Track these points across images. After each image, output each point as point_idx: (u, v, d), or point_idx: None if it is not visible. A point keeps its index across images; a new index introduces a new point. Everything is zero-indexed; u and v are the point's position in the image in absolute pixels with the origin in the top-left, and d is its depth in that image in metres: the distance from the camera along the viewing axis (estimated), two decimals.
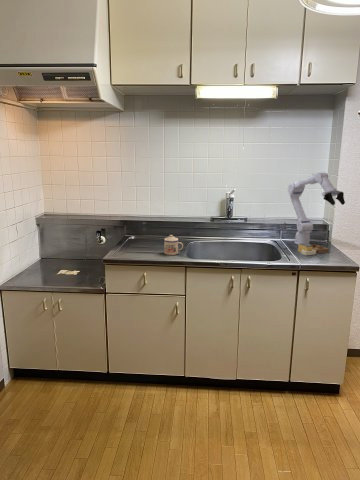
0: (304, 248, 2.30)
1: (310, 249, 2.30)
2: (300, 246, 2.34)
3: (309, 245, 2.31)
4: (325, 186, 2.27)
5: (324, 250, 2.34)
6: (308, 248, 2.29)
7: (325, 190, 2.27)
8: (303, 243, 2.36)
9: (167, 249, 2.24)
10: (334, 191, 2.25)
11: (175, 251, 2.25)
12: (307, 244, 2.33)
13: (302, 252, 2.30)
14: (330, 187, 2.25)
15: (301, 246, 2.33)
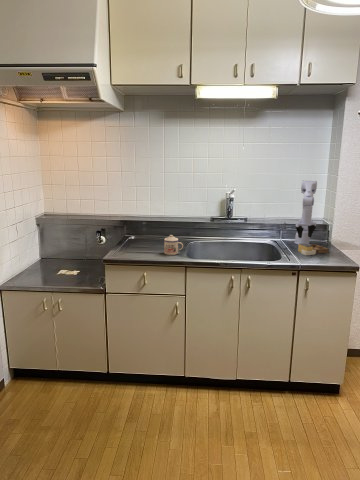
0: (304, 248, 2.30)
1: (310, 249, 2.30)
2: (300, 246, 2.34)
3: (309, 245, 2.31)
4: (304, 216, 2.28)
5: (324, 250, 2.34)
6: (308, 248, 2.29)
7: (302, 219, 2.30)
8: (303, 243, 2.36)
9: (167, 249, 2.24)
10: None
11: (175, 251, 2.25)
12: (307, 244, 2.33)
13: (302, 252, 2.30)
14: (307, 220, 2.28)
15: (301, 246, 2.33)
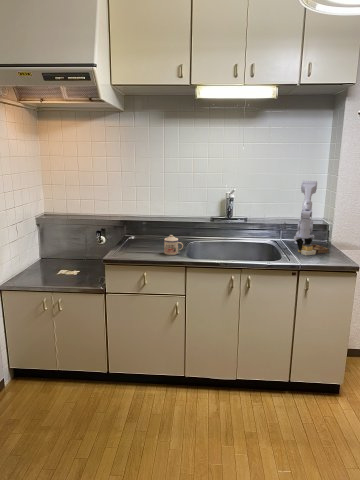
0: (304, 248, 2.30)
1: (310, 249, 2.30)
2: None
3: (309, 245, 2.31)
4: (302, 229, 2.30)
5: (324, 250, 2.34)
6: (308, 248, 2.29)
7: (300, 232, 2.32)
8: (303, 243, 2.36)
9: (167, 249, 2.24)
10: None
11: (175, 251, 2.25)
12: (307, 244, 2.33)
13: (302, 252, 2.30)
14: (305, 233, 2.30)
15: None
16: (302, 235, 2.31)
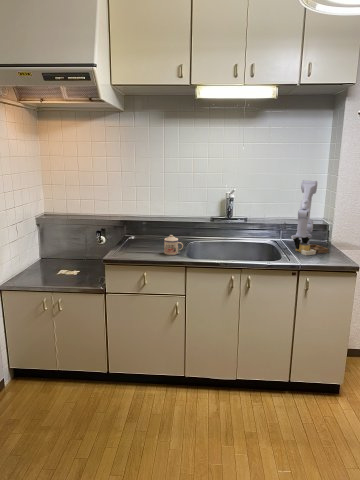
0: (301, 247, 2.33)
1: (307, 248, 2.32)
2: None
3: (306, 244, 2.33)
4: (299, 228, 2.33)
5: (324, 250, 2.34)
6: (305, 247, 2.31)
7: (297, 231, 2.34)
8: (300, 242, 2.38)
9: (167, 249, 2.24)
10: None
11: (175, 251, 2.25)
12: (304, 243, 2.36)
13: (302, 252, 2.30)
14: (302, 232, 2.32)
15: None
16: (299, 234, 2.33)
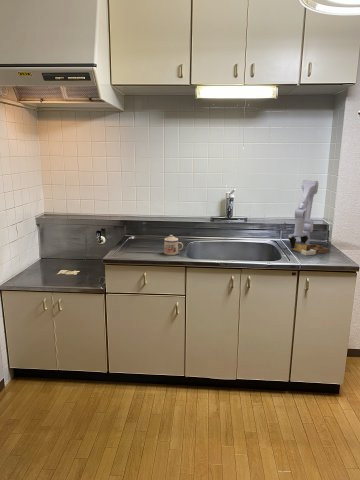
0: (298, 246, 2.35)
1: (304, 247, 2.34)
2: (295, 244, 2.39)
3: (303, 243, 2.36)
4: (296, 227, 2.35)
5: (324, 250, 2.34)
6: (302, 246, 2.34)
7: (294, 230, 2.37)
8: (298, 241, 2.40)
9: (167, 249, 2.24)
10: None
11: (175, 251, 2.25)
12: (301, 242, 2.38)
13: (302, 252, 2.30)
14: (299, 231, 2.35)
15: (296, 244, 2.38)
16: (296, 233, 2.36)
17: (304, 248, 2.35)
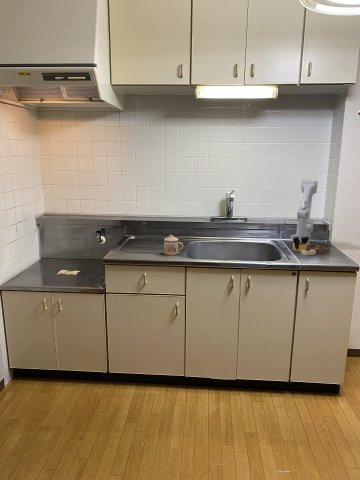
0: None
1: (304, 247, 2.34)
2: None
3: (303, 243, 2.36)
4: (299, 228, 2.33)
5: (324, 250, 2.34)
6: (302, 246, 2.34)
7: (297, 231, 2.35)
8: None
9: (167, 249, 2.24)
10: None
11: (175, 251, 2.25)
12: (301, 242, 2.38)
13: (302, 252, 2.30)
14: (302, 232, 2.33)
15: None
16: (299, 234, 2.34)
17: (304, 248, 2.35)
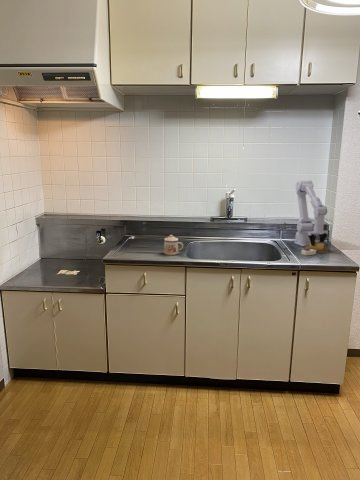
0: (315, 245, 2.36)
1: (321, 246, 2.35)
2: None
3: (320, 242, 2.37)
4: (316, 225, 2.34)
5: (324, 250, 2.34)
6: (319, 245, 2.35)
7: (314, 227, 2.36)
8: None
9: (167, 249, 2.24)
10: None
11: (175, 251, 2.25)
12: (318, 241, 2.39)
13: (302, 252, 2.30)
14: (319, 229, 2.33)
15: None
16: (316, 231, 2.34)
17: (321, 247, 2.36)
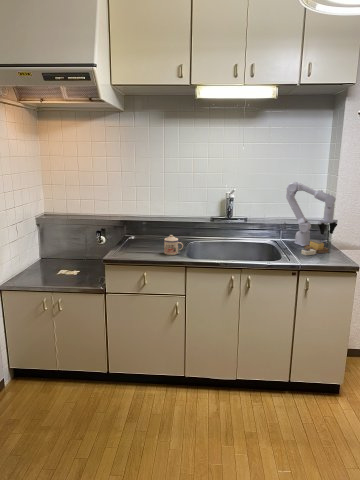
0: (315, 245, 2.36)
1: (321, 246, 2.35)
2: (311, 243, 2.40)
3: (320, 242, 2.37)
4: (326, 214, 2.40)
5: (324, 250, 2.34)
6: (319, 245, 2.35)
7: (324, 216, 2.42)
8: (314, 240, 2.41)
9: (167, 249, 2.24)
10: (330, 221, 2.42)
11: (175, 251, 2.25)
12: (318, 241, 2.39)
13: (302, 252, 2.30)
14: (329, 218, 2.39)
15: (312, 243, 2.39)
16: (326, 219, 2.41)
17: (321, 247, 2.36)
